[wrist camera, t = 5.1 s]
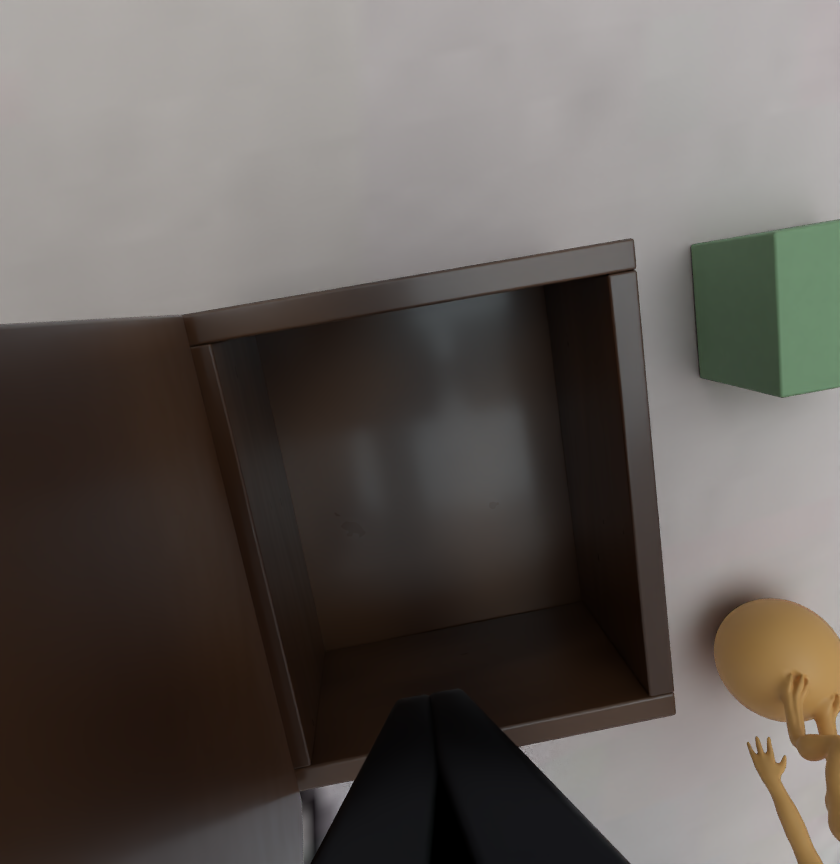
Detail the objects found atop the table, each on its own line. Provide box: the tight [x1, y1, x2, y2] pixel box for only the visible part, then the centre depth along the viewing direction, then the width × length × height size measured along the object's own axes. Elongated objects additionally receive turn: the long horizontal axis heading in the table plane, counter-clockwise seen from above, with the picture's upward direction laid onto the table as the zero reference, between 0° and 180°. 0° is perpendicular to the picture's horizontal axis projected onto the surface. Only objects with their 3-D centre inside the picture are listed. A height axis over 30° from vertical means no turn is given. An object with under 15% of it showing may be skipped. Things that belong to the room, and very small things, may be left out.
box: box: [182, 238, 676, 791], centre depth 18 cm, size 10×12×6 cm
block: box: [691, 219, 840, 398], centre depth 19 cm, size 4×4×4 cm
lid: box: [0, 315, 303, 864], centre depth 9 cm, size 11×12×1 cm
